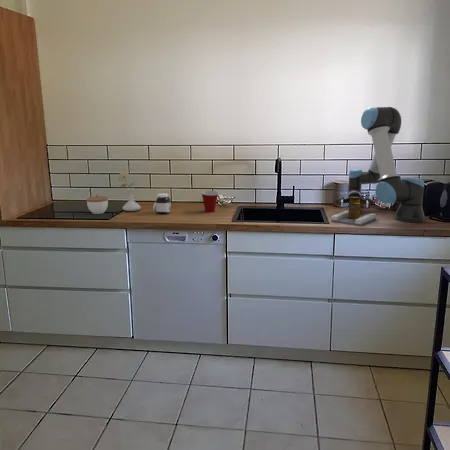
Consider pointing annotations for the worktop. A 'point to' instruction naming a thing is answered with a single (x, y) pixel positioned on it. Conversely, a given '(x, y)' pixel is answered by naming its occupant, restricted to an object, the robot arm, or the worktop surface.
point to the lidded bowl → (97, 204)
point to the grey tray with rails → (359, 221)
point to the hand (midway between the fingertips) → (354, 204)
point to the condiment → (354, 208)
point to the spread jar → (162, 204)
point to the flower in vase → (131, 204)
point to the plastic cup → (209, 200)
